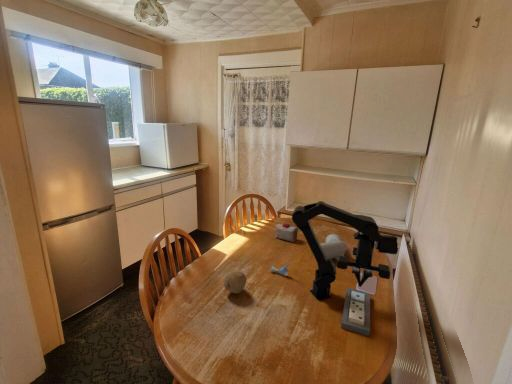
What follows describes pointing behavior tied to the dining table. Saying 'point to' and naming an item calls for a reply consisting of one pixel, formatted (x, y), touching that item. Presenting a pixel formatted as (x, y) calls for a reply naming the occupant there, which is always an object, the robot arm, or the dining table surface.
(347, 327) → the grey flat block
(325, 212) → the robot arm
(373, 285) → the mobile phone
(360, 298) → the one dot key
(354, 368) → the dining table surface
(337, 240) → the elbow connector
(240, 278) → the natural sponge
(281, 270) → the dinosaur figurine
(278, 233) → the white box
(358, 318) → the two dot key
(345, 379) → the dining table surface
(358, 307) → the three dot key
